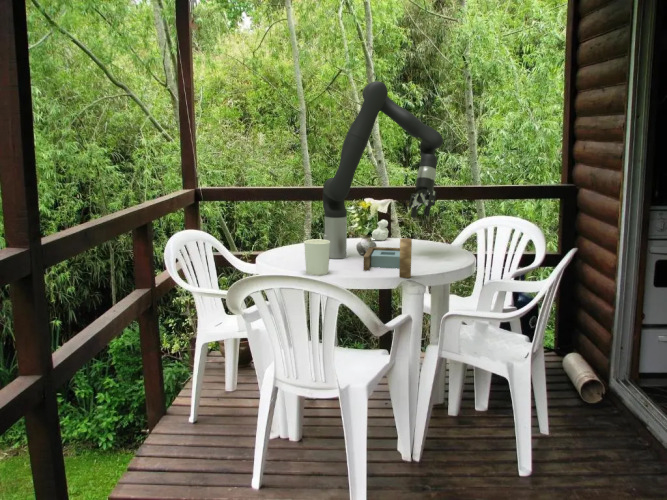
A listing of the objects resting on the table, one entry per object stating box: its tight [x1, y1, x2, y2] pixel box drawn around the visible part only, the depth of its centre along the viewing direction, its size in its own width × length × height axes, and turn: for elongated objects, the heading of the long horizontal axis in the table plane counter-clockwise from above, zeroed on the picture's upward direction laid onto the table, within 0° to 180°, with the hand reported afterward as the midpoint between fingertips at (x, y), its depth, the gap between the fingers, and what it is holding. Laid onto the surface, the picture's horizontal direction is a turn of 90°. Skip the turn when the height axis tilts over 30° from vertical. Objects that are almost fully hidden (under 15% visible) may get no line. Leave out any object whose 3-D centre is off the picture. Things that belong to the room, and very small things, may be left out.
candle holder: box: [303, 238, 330, 276], centre depth 246 cm, size 10×10×12 cm
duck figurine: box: [371, 219, 390, 242], centre depth 317 cm, size 12×8×11 cm
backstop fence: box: [363, 246, 400, 271], centre depth 260 cm, size 16×20×6 cm
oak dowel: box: [398, 237, 413, 279], centre depth 240 cm, size 4×4×14 cm
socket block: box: [370, 250, 400, 270], centre depth 261 cm, size 12×12×5 cm
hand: (419, 216), depth 271 cm, fingers open, 8 cm apart
